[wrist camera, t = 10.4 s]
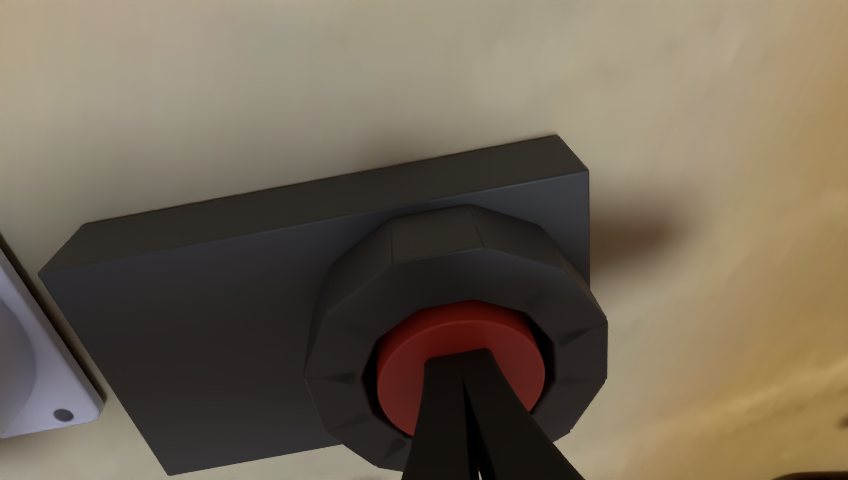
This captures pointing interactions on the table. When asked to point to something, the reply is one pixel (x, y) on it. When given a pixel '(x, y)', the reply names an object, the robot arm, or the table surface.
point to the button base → (329, 300)
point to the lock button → (454, 334)
